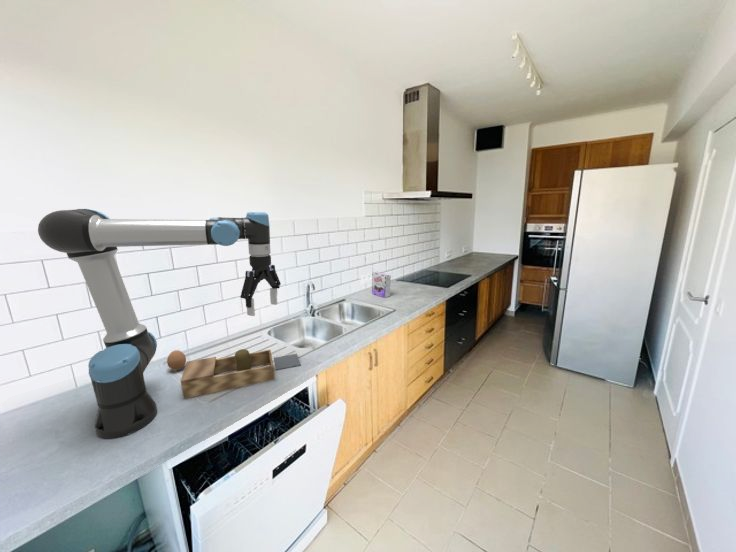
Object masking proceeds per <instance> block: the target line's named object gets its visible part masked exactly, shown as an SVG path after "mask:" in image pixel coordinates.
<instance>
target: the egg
mask: <svg viewBox="0 0 736 552" xmlns="http://www.w3.org/2000/svg"><path fill="white" fill-rule="evenodd" d="M166 359H167V360H166V363H167V366H168V368H169V369H170V370H172V371H179V370H181V369H183V368H184V366H186V363H187V357H186V355H185V353H184V352H182V351H181V350H179V349H178V350H173V351H171V352H170V353H169V354H168V356H167V358H166Z"/></svg>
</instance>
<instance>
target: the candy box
mask: <svg viewBox="0 0 736 552" xmlns="http://www.w3.org/2000/svg"><path fill="white" fill-rule="evenodd" d="M371 276H372V277H371V294H372V295H373V296H374V295H375V296H377V297H381V298H384V299H386V298H389V297H391V281H392V280H391V279H392V276H391V274H388V273H384V272H380V271H374V272H372V274H371Z"/></svg>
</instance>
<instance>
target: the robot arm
mask: <svg viewBox="0 0 736 552" xmlns="http://www.w3.org/2000/svg"><path fill="white" fill-rule="evenodd" d="M37 225H38V226H37V233H38V236H39V238H40V240H41V241H42V243H44V244H45V245H46V246H47V247H49V248H51V250H54V251H56V252H60V253H65V254H66V255H67V257H68V259H69V260H71V261H74V262H76V263H78V267H79V269H80V271H81V273H82V276H83V278H84V281H85V283H86V287H87V288H88V290H89V293H90V295H91V297H92V300H93V302H94V305H95V308H96V309H97V313H98V314H99V317H100V319H101V322H102V324H103V327H104V330H105V332H106V334H105V336H104V337H103V338H102V342H103V343H104V346H105V348H104V349H103V350H99V351H98V352H96V353H95V354H94V355H93V356H92V357H90V359H89V362H88V376H89V378H90V381H91V385H92V388H93V393H94V397H95V400H96V404H97V411H96V417H95V421H94V431H95V434H96V435H97V437H99V438H101V439H116V438H121V437H124V436H128V435H130V434H133V433H135V432H137V431H139V430H140V429H142V428H144V427H145V426H147V425H148V424H149V423H151V422H152V420H154V419H155V417H156V416H157V414H158V408H157V403H156V401H155V400H154V399H153V397H152V396H151V395H150V394H149V392H148V391H147V387H146V382H145V377H144V372H145V370H146V369H147V368H148V366H149V364H150V363H151V361H152V360H153V358H154V356H155V354H156V352H157V347H158V341H157V339H156V337H155V335H153V333H152V332H149V331H148V329H147V326H146V325H145V324H141V323H140V322H139V320H138V316H137V315H136V312H135V309H134V306H133V303H132V301H131V299H130V295H129V293H128V291H127V288H126V285H125V282H124V280H123V277H122V274H121V272H120V269H119V266H118V264H117V261H116V259H115V254H116V253H117V252H118V248H120V247H121V248H122V247H125V248H127V247H158V246H159V247H160V246H161V247H163V246H164V247H165V246H195V245H196V246H201V245H202V246H204V245H213V246H214V245H217V246H218V245H219V246H223V247H229V246H232V245H234V244H236V242H238V240H247V243H248V246H247V247H248V254H249V256H248V258H249V266H250V267H251V270H245V277H244V281H243V285H242V289H241V292H240V296H239V297H240V299H243V300H245V307H246V315H247V316H250V317H255V315H256V313H255V312H256V309H255V298H253V296H254V294H255V293H256V289H257V287H258V285H259V283H261V281H263V280H265V281H266V283H268V285H269V286H270V288H269V297H270V305H276V306H277V305H278V289H280V286H281V284H282V283H281V281H280V279H279V276H278V273H277V271H276V265H275V264H272V256H271V255H270V254H271V232H270V229H271V228H270V225H271V224H270V218H269V214H268V213H267V212H265V211H263V212H262V211H249V212H246V216H245V217H219V216H218V217H210V218H209V219H158V218H157V219H154V218H153V219H152V218H151V219H149V218H148V219H143V218H142V219H139V218H138V219H135V218H134V219H133V218H132V219H131V218H127V219H126V218H125V219H124V218H120V219H119V218H110V217H109V216H107V215H106V214H105V213H103V212H101V211H97V210H94V209H89V208H77V209H62V210H56V211H52V212H50V213H47V214H46V215H45V216H43V218H42V219H40V221H39V223H38V224H37Z"/></svg>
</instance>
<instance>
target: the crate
mask: <svg viewBox="0 0 736 552" xmlns="http://www.w3.org/2000/svg"><path fill="white" fill-rule="evenodd" d="M248 359H249V363H250V366H251V369H248V370H243V371H238V372H236V369H237V360H236V358H235V355H231V356H225V357H220V358H217V357H216V356H211V357H206V358H200V359H194V360H189V361H186V363H185V365H184V366H185V367H184V369H183V372H182V375H181V378H180V386H181V391H182V398H183V399H188V398H193V397H198V396H203V395H207V394H212V393H216V392H221V391H222V392H223V391H227V390H232V389H235V388H240V387H245V386H246V387H247V386H250V385H255V384H261V383H265V382H269V381H273V380H276V379H275V364H274V359H273V357H272V351H271V349H266V350H260V351H254V352H249V358H248ZM264 365H265V366H264ZM259 366H260V367H259ZM231 371H233V372H231ZM227 372H228V373H227ZM221 373H222V374H221ZM215 374H216V375H215ZM202 394H203V395H202Z"/></svg>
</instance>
